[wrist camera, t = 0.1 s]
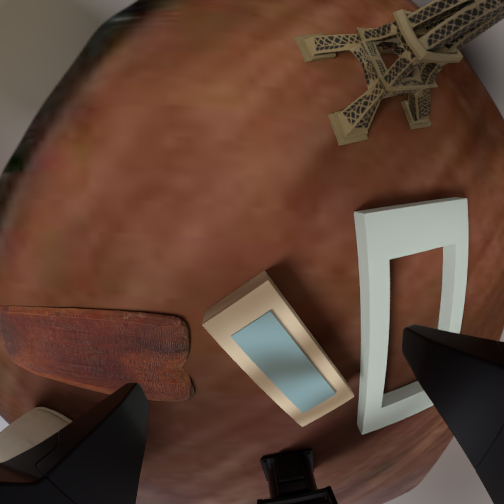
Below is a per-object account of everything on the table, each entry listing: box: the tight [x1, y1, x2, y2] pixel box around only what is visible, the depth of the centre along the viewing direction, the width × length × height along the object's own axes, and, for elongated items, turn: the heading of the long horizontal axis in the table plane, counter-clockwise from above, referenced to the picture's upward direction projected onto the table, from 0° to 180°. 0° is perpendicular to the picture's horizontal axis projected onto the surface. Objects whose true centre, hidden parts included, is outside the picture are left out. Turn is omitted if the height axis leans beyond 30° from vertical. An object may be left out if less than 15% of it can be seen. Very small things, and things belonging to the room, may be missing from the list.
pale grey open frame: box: [354, 197, 468, 435], centre depth 24 cm, size 25×12×2 cm, turn 10°
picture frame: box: [202, 270, 354, 427], centre depth 23 cm, size 15×6×3 cm, turn 35°
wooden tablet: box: [0, 306, 194, 401], centre depth 23 cm, size 27×10×2 cm, turn 90°
